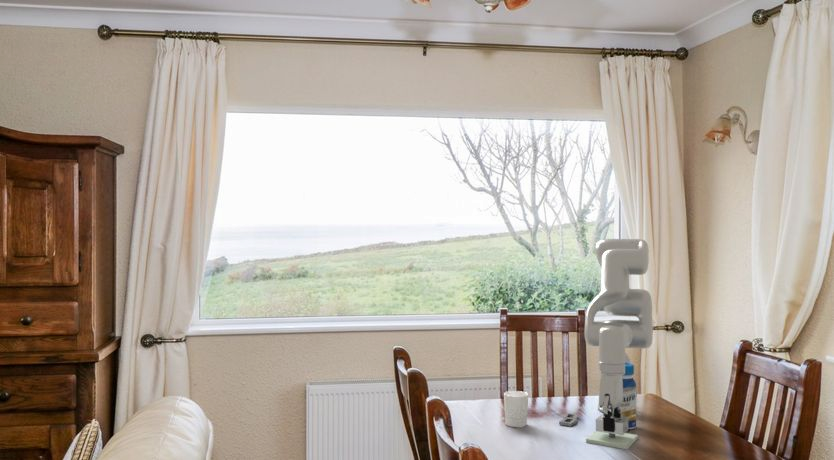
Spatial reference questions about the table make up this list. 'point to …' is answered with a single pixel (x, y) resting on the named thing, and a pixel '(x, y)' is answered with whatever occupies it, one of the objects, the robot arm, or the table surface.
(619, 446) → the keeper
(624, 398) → the beverage bottle
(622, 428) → the end link
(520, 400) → the white cup
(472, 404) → the table surface
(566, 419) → the chain tail
